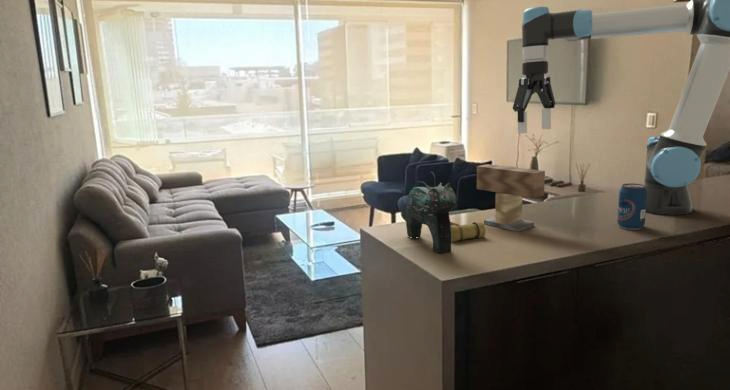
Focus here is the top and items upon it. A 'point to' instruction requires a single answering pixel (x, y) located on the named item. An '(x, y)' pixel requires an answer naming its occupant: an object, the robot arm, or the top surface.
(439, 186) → the ceramic cat
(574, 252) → the top surface
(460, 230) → the gavel
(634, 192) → the soda can
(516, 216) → the fulcrum
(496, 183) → the walnut beam
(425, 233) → the top surface
